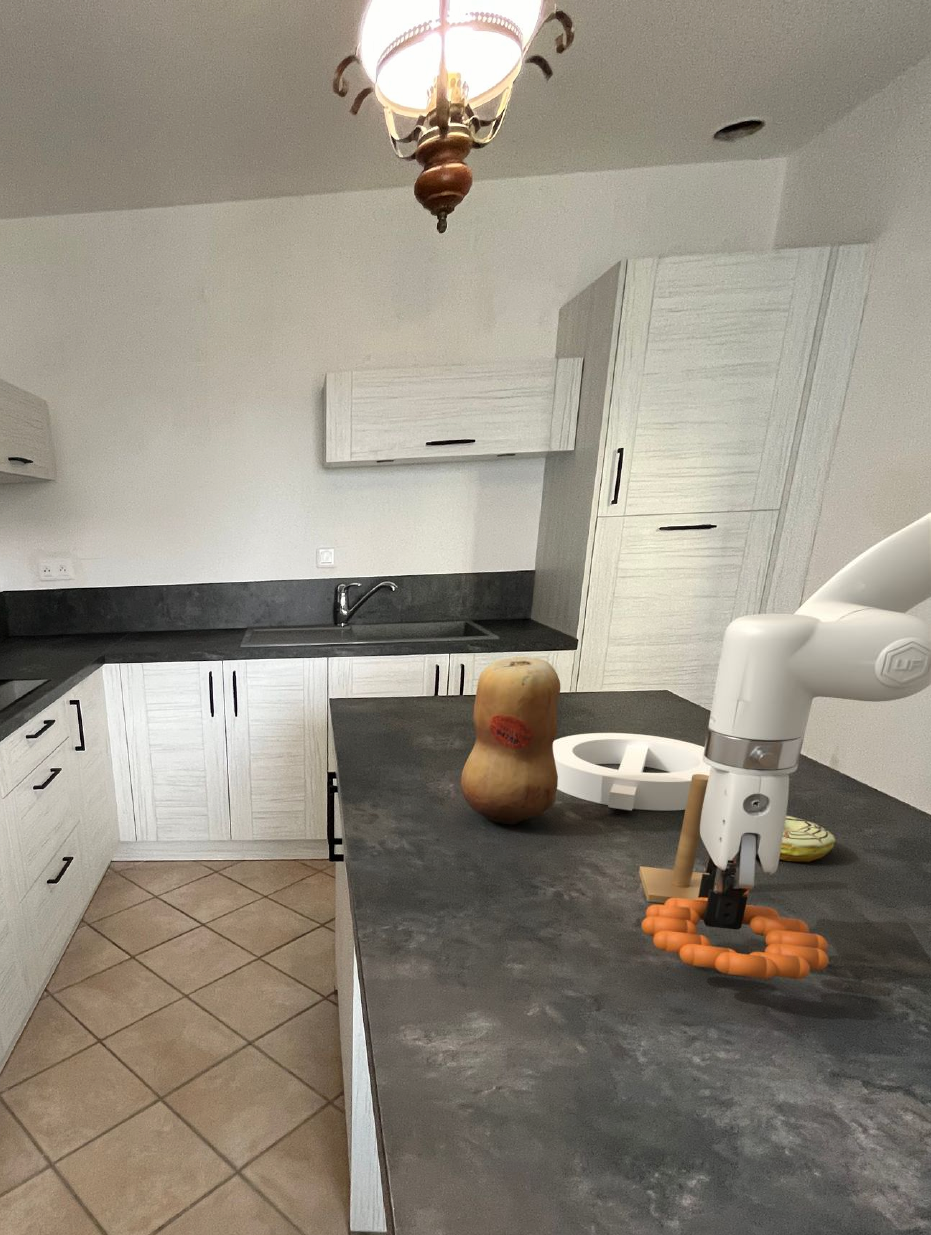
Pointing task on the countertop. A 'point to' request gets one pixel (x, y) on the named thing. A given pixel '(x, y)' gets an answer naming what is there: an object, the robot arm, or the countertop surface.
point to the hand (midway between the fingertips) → (718, 916)
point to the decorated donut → (804, 841)
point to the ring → (783, 957)
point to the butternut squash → (513, 741)
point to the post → (680, 854)
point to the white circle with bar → (628, 769)
